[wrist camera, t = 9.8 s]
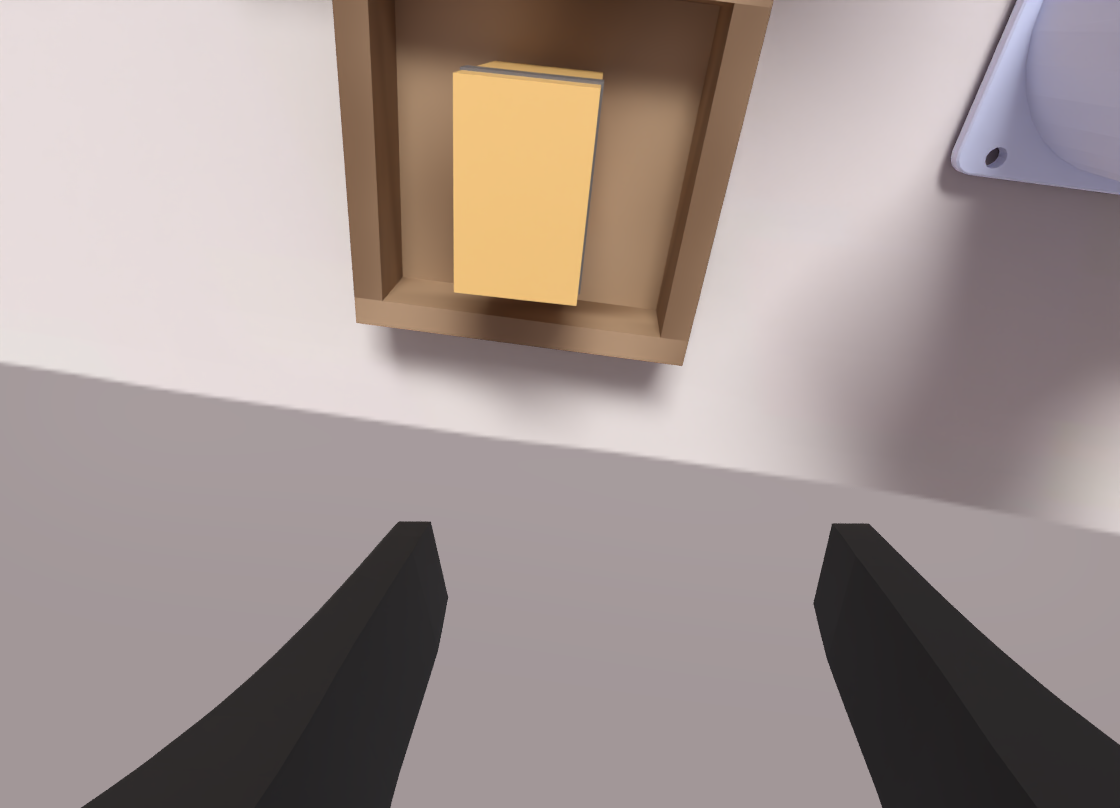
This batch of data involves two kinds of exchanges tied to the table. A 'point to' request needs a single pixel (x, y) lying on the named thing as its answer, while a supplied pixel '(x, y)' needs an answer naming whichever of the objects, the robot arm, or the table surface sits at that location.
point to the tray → (619, 173)
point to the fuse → (523, 178)
